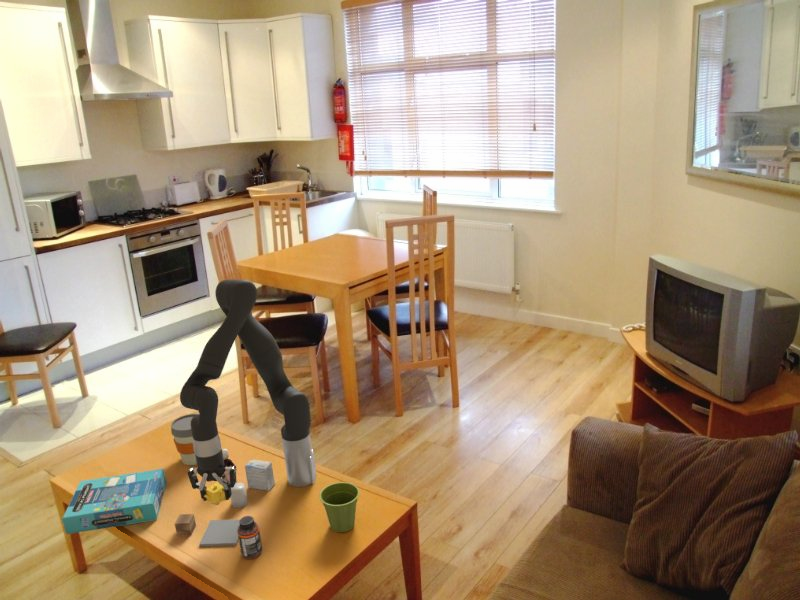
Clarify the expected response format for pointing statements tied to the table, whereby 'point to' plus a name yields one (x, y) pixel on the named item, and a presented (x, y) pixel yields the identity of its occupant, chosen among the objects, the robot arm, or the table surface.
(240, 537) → the supplement bottle
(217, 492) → the teapot
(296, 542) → the table surface
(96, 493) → the game box
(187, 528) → the walnut cube
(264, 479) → the medicine box
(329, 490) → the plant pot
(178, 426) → the reusable coffee cup
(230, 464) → the grandmother figurine
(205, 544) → the slate mat
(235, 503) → the white rounded cylinder
